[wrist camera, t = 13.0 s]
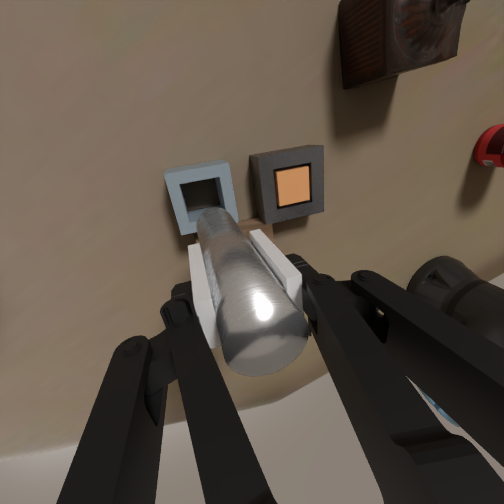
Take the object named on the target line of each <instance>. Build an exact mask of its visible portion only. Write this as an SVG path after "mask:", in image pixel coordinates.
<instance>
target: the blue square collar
mask: <svg viewBox="0 0 504 504" xmlns="http://www.w3.org/2000/svg"><path fill="white" fill-rule="evenodd" d="M164 177H165V181H166V184H167V187H168V191H169V194H170V198H171V201H172V205H173V208H174V212H175V215H176V219H177V222H178V225H179V229H180V232H181V235H186V234H190V233H195V232H197V229H196V222H197V219H198V217H199V215H200V214H201V213H202V212H203V211H205V210H206V209H208V208H212V207H219V208H223V209H225V210H226V211H228V212H229V213H230V214H231V216H232V217H233V219H234V220H235V221H236V223H239V220H238V214H237V208H236V202H235V197H234V191H233V185H232V179H231V173H230V167H229V163H228V162H226V161H224V160H216V161H210V162H204V163H198V164H193V165H187V166H181V167H175V168H170V169H166V170H165V172H164ZM210 178H215V181H216V186H217V191H218V196H219V201H220V205H217V206H212V207H208V208H203V209H198V210H193V211H189V212H188V210H187V206H186V202H185V199H184V195H183V191H182V187H181V184H183V183H189V182H194V181H199V180H205V179H210Z"/></svg>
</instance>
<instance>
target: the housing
mask: <svg viewBox="0 0 504 504" xmlns="http://www.w3.org/2000/svg"><path fill="white" fill-rule="evenodd" d="M250 163H251V170H252V178H253V185H254V193H255V200H256V208H257V215H258V218H259V219H260V220H261V221H262V222H263V223H264V224H266V225H268V224H273V223H277V222H281V221H286V220H290V219H294V218H298V217H303V216H307V215H311V214H316V213H320V212H324V145H305V146H300V147H294V148H288V149H283V150H277V151H271V152H265V153H260V154H254V155H250ZM294 165H304V166H309V195H310V200H306V201H301V202H297V203H292V204H288V205H283V206H279V205H277V204H276V195H275V185H274V175H273V169H278V168H284V167H289V166H294Z"/></svg>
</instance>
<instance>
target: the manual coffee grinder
mask: <svg viewBox="0 0 504 504" xmlns="http://www.w3.org/2000/svg"><path fill="white" fill-rule="evenodd" d="M469 1H470V0H341V1H340V3H339V18H338V19H339V40H340V57H341V68H342V78H343V89H350V88H356V87H360V86H363V85H366V84H369V83H373V82H377V81H381V80H384V79H388V78H391V77H394V76H396V75H398V74H401V73H404V72H408V71H411V70H415V69H418V68H422V67H425V66H429V65H432V64H436V63H439V62H443V61H446V60H448V59H450V58H452V57H455V56H457V50H458V43H459V36H460V28H461V23H462V19H463V15H464V12H465V8H466V3H468V2H469Z"/></svg>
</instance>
